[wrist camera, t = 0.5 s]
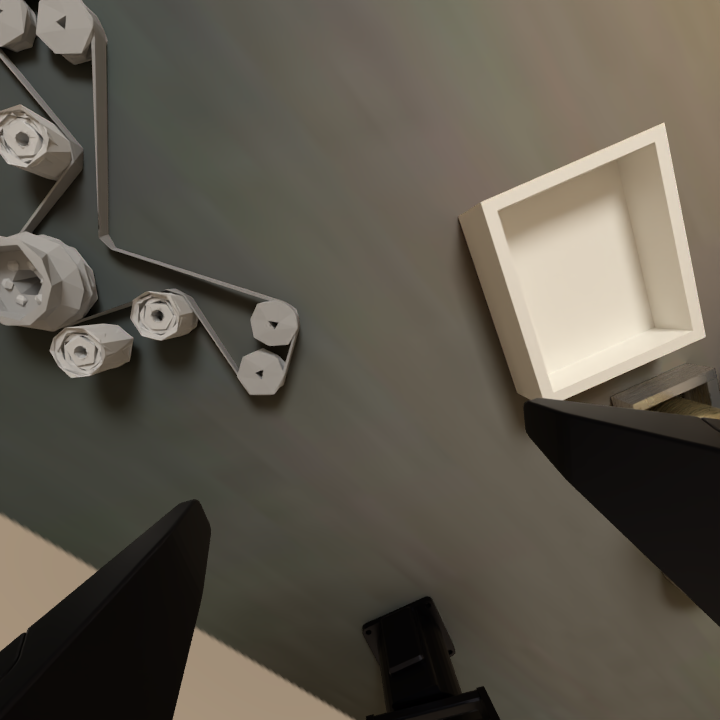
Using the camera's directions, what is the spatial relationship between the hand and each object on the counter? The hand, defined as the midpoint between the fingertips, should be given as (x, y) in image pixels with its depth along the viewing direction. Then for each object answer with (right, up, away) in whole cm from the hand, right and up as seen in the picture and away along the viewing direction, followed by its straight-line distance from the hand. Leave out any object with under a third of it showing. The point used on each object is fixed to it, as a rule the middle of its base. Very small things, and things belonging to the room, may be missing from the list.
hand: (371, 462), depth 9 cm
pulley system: (-16, +10, +13) cm, 23 cm away
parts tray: (+15, +9, +16) cm, 23 cm away
